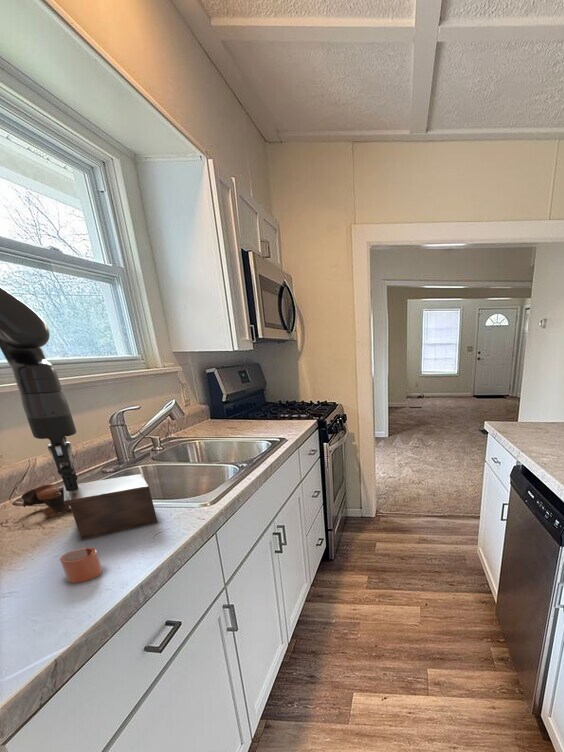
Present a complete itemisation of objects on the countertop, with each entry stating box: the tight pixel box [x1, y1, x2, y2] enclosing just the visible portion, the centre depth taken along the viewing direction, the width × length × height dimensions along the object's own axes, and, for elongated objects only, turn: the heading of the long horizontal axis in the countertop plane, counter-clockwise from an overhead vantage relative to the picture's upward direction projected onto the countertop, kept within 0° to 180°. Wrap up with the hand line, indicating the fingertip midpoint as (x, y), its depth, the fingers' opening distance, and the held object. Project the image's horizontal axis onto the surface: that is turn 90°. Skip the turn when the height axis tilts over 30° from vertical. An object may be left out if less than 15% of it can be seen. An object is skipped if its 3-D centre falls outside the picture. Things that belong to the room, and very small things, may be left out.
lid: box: [62, 473, 150, 504], centre depth 95 cm, size 16×13×5 cm
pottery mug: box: [21, 483, 71, 518], centre depth 107 cm, size 12×10×8 cm
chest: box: [69, 488, 159, 540], centre depth 98 cm, size 16×13×9 cm
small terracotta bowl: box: [59, 547, 103, 584], centre depth 76 cm, size 6×6×4 cm
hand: (72, 485), depth 92 cm, fingers open, 8 cm apart
